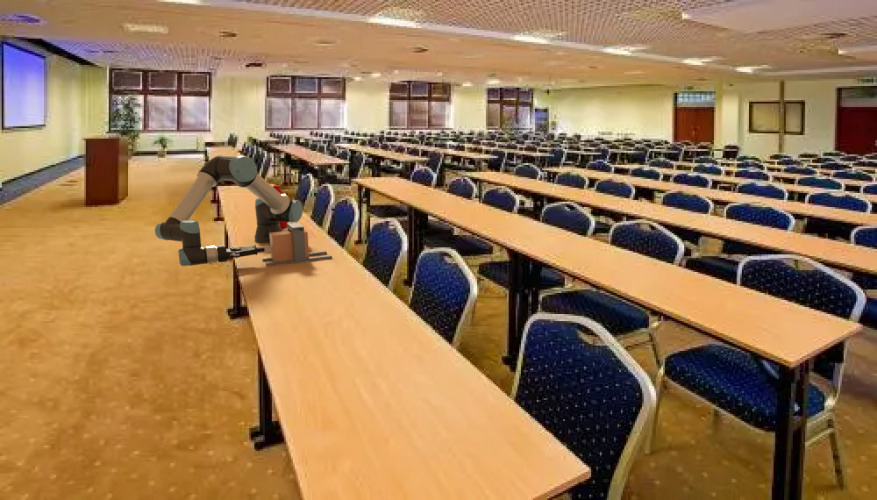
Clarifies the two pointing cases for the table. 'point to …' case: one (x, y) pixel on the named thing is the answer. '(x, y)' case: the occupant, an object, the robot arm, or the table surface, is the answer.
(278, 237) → the brick
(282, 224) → the water bottle
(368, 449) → the table surface
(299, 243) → the grey stand
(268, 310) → the table surface
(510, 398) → the table surface
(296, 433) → the table surface
